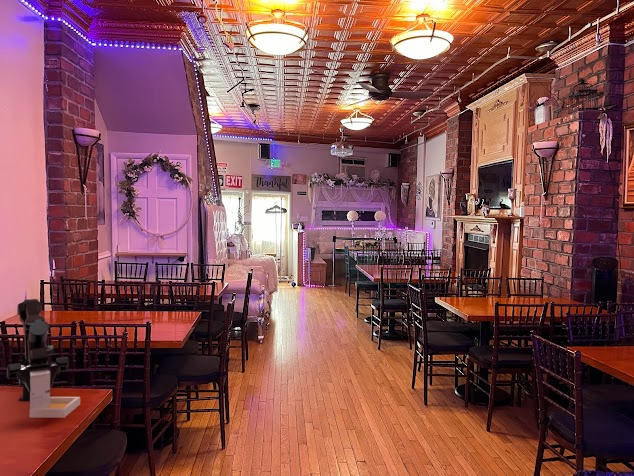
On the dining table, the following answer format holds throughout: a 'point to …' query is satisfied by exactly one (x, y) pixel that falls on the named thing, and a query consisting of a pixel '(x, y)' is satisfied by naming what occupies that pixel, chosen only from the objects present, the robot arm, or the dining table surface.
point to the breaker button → (56, 405)
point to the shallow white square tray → (56, 412)
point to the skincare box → (39, 389)
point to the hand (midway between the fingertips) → (40, 389)
